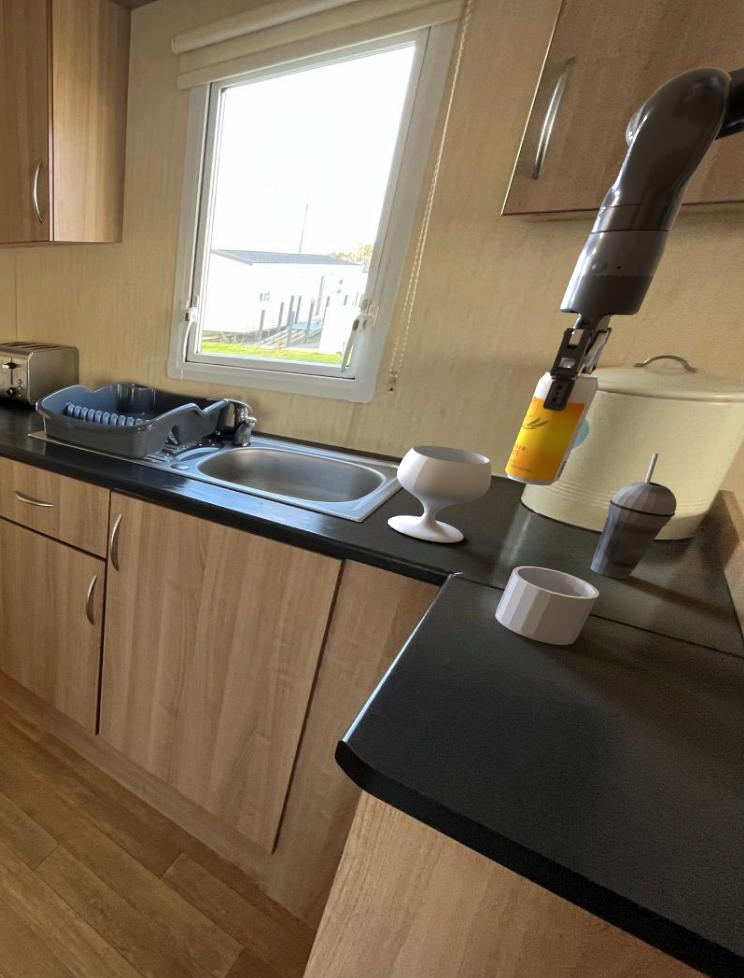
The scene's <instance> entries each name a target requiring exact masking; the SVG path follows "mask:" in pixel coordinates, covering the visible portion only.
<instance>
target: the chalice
mask: <svg viewBox="0 0 744 978" xmlns="http://www.w3.org/2000/svg"><path fill="white" fill-rule="evenodd" d="M396 476H397V480H398V483H399V484H400V486H401V487H402V488H403V489H405V490H406V491H407V492H408V493H410V494H411V495H412V496H414V497H415V498H416V499H417V500H419V501H420V503H421V504H422V506H423V508H424V509H423V510H424V512H423V514H422V516H415V515H396V516H394V517H391V518H389V519H388V520H387V523H388V525H389V526H390V527H391V528H393V529H394V530H396V531H397V532H400V533H402V534H405V535H407V536H410V537H413V538H417V539H420V540H425V541H430V542H437V543H457V542H460V541H462V540H463V539H464V534H463V533H462V532H461V531H460V530H459V529H457V528H456V527H454V526H452V525H449V524H448V523H444V522H441V521H438V520H436V515H437V513H438V512H439V511H441V510H442V509H444V508H446V507H449V506H453V505H459V504H464V503H469V502H473V501H476V500H478V499H480V498H481V497H484V495H485V494H486V493H487V492H488V491H489V489H490V486H491V481H492V465H491V461H490V459H489V458H488V457H486V456H485V455H481V454H479V453H476V452H472V451H468V450H464V449H458V448H453V447H446V446H437V445H420V446H419V445H417V446H414V447H412V448H411V449H410V450H409V451H408V452H407V453H406V454H405V456H404V457H403V458H402V460H401V463H400V464H399V467H398V468H397V472H396Z"/></svg>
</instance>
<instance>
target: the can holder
mask: <svg viewBox="0 0 744 978" xmlns="http://www.w3.org/2000/svg"><path fill="white" fill-rule="evenodd" d="M599 596H600V592H599V590H598V588H596V587H595V586H594V585H592V584H591V583H589V582H587V581H585V580H583V579H581V578H579V577H576V576H574V575H572V574H570V573H567V572H562V571H560V570H555V569H551V568H546V567H541V566H533V565H522V566H517V567H514V569H513V570H512V572H511V574H510V576H509V579H508V581H507V584H506V586H505V588H504V591H503V593H502V596H501V598H500V600H499V603H498V605H497V607H496V610H495V614H494V616H495V619H496V620H497V621H498V622H499V623H500V624H501V625H502V626H504V627H505V628H506V629H508V630H510V631H512V633H513V632H514V633H515V634H518V635H520V636H522V637H525V638H528V639H529V640H533V641H536V642H539V643H540V642H541V643H544V644H549V645H555V646H556V645H557V646H568V645H572V644H575V642H576V641H577V640H578V637H579V636H580V634H581V631H582V630H583V628H584V626H585V624H586V621H587V620H588V618H589V617H590V614H591V612H592V610H593V608H594V606H595V605H596V602H597V600H598V598H599Z"/></svg>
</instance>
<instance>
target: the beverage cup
mask: <svg viewBox="0 0 744 978" xmlns="http://www.w3.org/2000/svg"><path fill="white" fill-rule="evenodd" d="M658 457H659V453H658V452H657V453H656V452H653V454H652V458H651V461H650V464H649V467H648V472H647V474H646V476H645V477H646V478H645V481H638V482H633V483H630V484H627V485H626V486H624V487H621V488H620V489H619V490H618V491H617V492H616V493H615V494H614V495H613V497H612V498H611V499H610V500H609V505H608V510H607V517H606V519H605V523H604V526H603V529H602V531H601V535H600V537H599V540H598V543H597V547H596V549H595V552H594V555H593V558H592V562H591V565H590V570H592V571H593V572H595V573H596V574H599V575H601V576H604V577H608V578H612V579H616V580H626V579H628V578H629V577H630V575H631V574H632V572H633V571H634V570H635V569H636V567H637V566H638V565H639V563H640V561H641V560H642V558H643V557H644V556H645V554H646V553H647V552H648V550H649V548H650V547H651V545H652V544H653V543H654V541H655V539H656V538H657V537H658V535H659V534H660V532H661V530H662V529H663V528H664V527H666V525H667V524H668V523H669V522H670V521H671V520H672V517H674V516H676V510H677V507H678V506H677V504H678V503H677V497H676V496H675V494H674V493H673V491H672V490H671V489H670V488H668V487H667V486H666V485H664V484H661V483H659V482H653V481H651V480H652V478H653V474H654V470H655V468H656V464H657V461H658Z"/></svg>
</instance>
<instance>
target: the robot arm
mask: <svg viewBox="0 0 744 978" xmlns="http://www.w3.org/2000/svg"><path fill="white" fill-rule="evenodd" d="M743 132H744V66H743V67H739V68H735V69H733V70H729V71H725V70H724V69H722V68H719V67H715V66H702V67H696V68H693V69H689V70H687V71H684V72H682V73H680V74H678V75H676V76H674V77H672V78H670V79H669V80H667V81H666V82H664V83H663V84H662V85H661V86H660V87H658V88H657V89H656V90H655V91H653V93H652V94H651V95H650V96H649V97H648V98H647V99H646V100H645V101H644V102H643V103H642V104H641V105H640V106H639V107H638V108H637V109H636V111H635V112H634V113H633V114H632V116H631V118H630V120H629V121H628V124H627V127H626V131H625V141H626V144H627V147H628V149H627V152H626V155H625V158H624V160H623V163H622V166H621V169H620V170H619V173H618V176H617V178H616V179H615V181H614V183H613V184H612V185H611V186H610V188H609V190H608V191H607V193H606V195H605V196H604V199H603V200H602V202H601V205H600V208H599V211H598V213H597V216H596V218H595V221H594V223H593V227H592V228H591V232H590V234H589V236H588V238H587V240H586V243H585V244H584V246H583V248H582V249H581V252H580V254H579V256H578V258H577V261H576V264H575V267H574V270H573V271H572V275H571V278H570V280H569V283H568V286H567V288H566V291H565V293H564V296H563V299H562V301H561V304H560V307H559V311H560V312H561V313H565V314H577V315H578V318H577V319H576V322H575V323H574V326H573V327H566V329H565V330H564V331H563V335H562V339H561V342H560V345H559V348H558V351H557V353H556V356H555V358H554V362H553V363H552V367H551V369H550V370H549V372H550V376H551V377H552V378H551V380H553V381H552V383H551V386H550V388H549V391H548V394H547V396H546V399H545V401H544V404H543V408H544V409H548V410H555V411H561V410H563V409H565V407H566V405H567V402H568V400H569V397H570V395H571V392H572V390H573V387H574V385H575V383H573V382H576V381H577V380H578V379H579V377H580V376H579V375H580V373H581V374H589V375H593V373H594V372H595V371H596V369H597V365H598V362H599V361H600V360H601V358H602V356H603V352H604V350H605V346H606V345H607V343H608V342H609V341H610V340H611V337H612V334H613V332H614V331H613V327H611V326H610V327H609V324H610V321H611V318H612V317H613V316H634V315H636V314H637V313H639V311H640V309H641V307H642V305H643V302H644V301H645V298H646V296H647V293H648V291H649V289H650V286H651V284H652V282H653V279H654V277H655V275H656V272H657V270H658V267H659V265H660V264H661V262H662V258H663V256H664V253H665V251H666V247H667V242H668V239H669V235H670V233H671V232H670V231H671V230H672V228H673V227H674V223H675V221H676V219H677V217H678V214H679V212H680V210H681V207H682V204H683V202H684V200H685V197H686V194H687V190H688V188H689V185H690V183H691V181H692V179H693V177H694V176H695V174H696V172H697V171H698V169H699V167H700V166H701V164H702V163H703V161H704V159H705V157H706V155H707V154H708V152H709V150H710V148H711V147H712V145H713V143H714V142H716V141H718V140H721V139H724V138H728V137H731V136H734V135H738V134H741V133H743ZM566 366H567V367H566Z"/></svg>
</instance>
